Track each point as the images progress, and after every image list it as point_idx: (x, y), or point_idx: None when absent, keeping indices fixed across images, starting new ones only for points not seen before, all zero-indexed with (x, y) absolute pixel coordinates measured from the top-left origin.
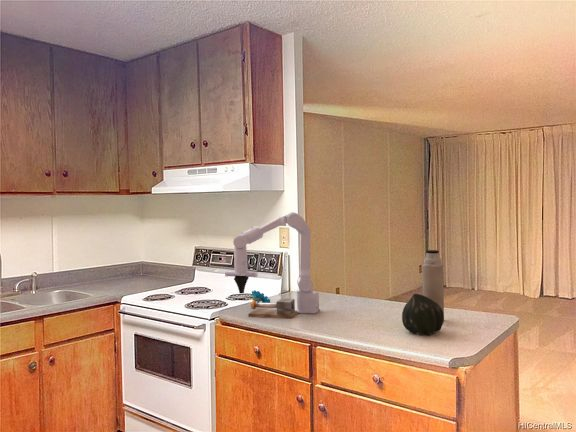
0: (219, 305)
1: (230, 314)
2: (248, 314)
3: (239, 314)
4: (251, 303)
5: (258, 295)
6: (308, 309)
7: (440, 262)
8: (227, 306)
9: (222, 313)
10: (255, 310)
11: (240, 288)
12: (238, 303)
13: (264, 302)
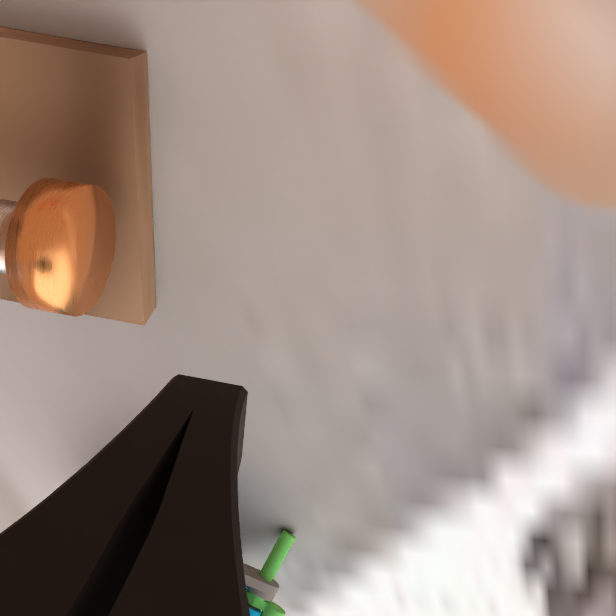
0: (611, 541)
1: (441, 173)
2: (132, 55)
3: (311, 172)
4: (56, 212)
5: None
6: None
7: None
8: (521, 504)
9: (567, 229)
10: None
11: (176, 474)
12: (421, 573)
13: None
